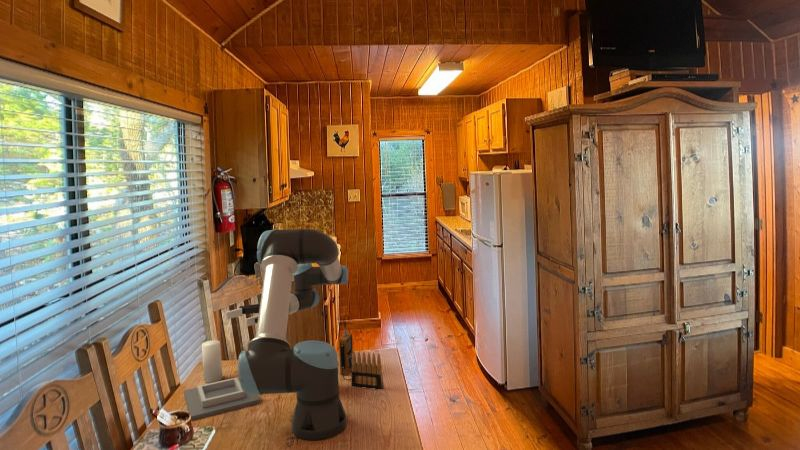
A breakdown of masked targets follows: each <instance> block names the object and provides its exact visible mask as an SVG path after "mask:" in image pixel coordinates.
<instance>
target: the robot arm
mask: <svg viewBox="0 0 800 450" xmlns="http://www.w3.org/2000/svg"><path fill="white" fill-rule="evenodd" d="M256 249H257V251H256V258H257V262H258V264H259V265H260V266H261V269H262V270H263V271H264V277H263V283H262V291H261V296H260V297H261V298H260V303H255V304H249V305H247V304H246V305H240V306H238V308H235V309H232V310H228V311H225V312H224V314H225V316H224V317H225V320H230V319H234V318H237V317H243V315H252V314H256V315H253V316H250V317H248V318H246V317H245V319H244V321H245V328H248V327H250V326H255V325H256V329H255V330H256V331H255V337H254V338H253V339H251V340H250V341H249V342H248V346H247V350H246V349H245V350H243V351H240V353H239V355H238V360H237V371H238V372H237V374H238V378H239V381H240V385H241V388H242V390H243V391H244V392H245V393H246V394H257V395H258V396H263V395H275V394H294V393H295V394H296V403H295V407H294V411H293V413H292V414H293V415H292V418H291V431H292V433H293V435H294V436H295V437H297V438H299V439H302V440H307V441H319V440H320V441H322V440H326V439H329V438H332V437H334V436H337V435H338V434H340V433H341V432H343V431H344V430H345V429H346V427H347V424H348V423H347V414H346V411H345V409H344V406H343V403H342V400H341V398H340V386H339V385H340V384H339V369H338V368H339V361H338V352H337V350H336V347H334V346H333V345H332V344H330V343H329V342H326V341H322V340H315V339H314V340H313V339H311V340H309V339H308V340H305V341H300V342H297V343H296V344H294V347H293V348H291V343H290V342H289V341H288V340H287V330H288V320H289V315H293V314H294V313H297V312H301V311H304V310H309V309H311V308H314V307H316V306H318V304H319V303H320V295H319V292H318V290H317V289H315V288H314V286H321V285H322V286H323V285H325V286H327V285H331V286H332V285H338V286H339V285H346V284H348V282H349V281H348V280H349V269H348V266H347V265H341V262H340V260H339V253H340V252H339V247H338V245H337V242H336V241H335V240H334V239H333V238H332V237H331V236H329V235H328V234H326V233H324V232H323V231H321V230H317V229H315V228H293V229H291V228H289V229H279V228H275V229H271V230H270V229H269V230H265V231H263V232H262V233H261V235H260V237H259V239H258V242H257V248H256ZM312 264H317V265H318V266H313V265H312ZM292 283H293V284H292ZM292 285H293V289H294V291H293V293H291V292H292ZM257 314H258V315H257Z"/></svg>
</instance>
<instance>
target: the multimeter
mask: <svg viewBox="0 0 800 450" xmlns="http://www.w3.org/2000/svg"><path fill="white" fill-rule="evenodd" d="M345 317H347V318H348V320H350V317H349V315H348V314H345V315H344V316H343V319H340V320H339V324H338V326H339V327H338V333H339V334H338V335H339V337H338V338H339V339H338V350H339V351H338V353H339V356H338V357H339V369H340V370H339V371H340V372H339V373H340V375H342V378H343V379H344V380H345V381H350V380H351V381H352V378H349V379H348V378H345V375H346V376H349V374H350V373H351V372H352V354H353V351H354V344H353V333H352V332H351V331H350V329H348V331H347V324H346V323H347V322H346V321H347V320H346V319H345ZM341 321H343V322H342V323H343V325H344V329H343V334H342V336H341V330H340V329H341V328H340V327H341Z"/></svg>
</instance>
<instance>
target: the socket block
mask: <svg viewBox="0 0 800 450" xmlns="http://www.w3.org/2000/svg"><path fill="white" fill-rule="evenodd" d="M183 395H184V396H183V397H184V399H185V403H186V407H187V411H188V414H189V413H190V415H191V421H194V420H199V419H202V418H203V419H204V418H206V417H210V416H215V415H218V414H222V413H226V412H229V411H233V410H237V409H241V408H245V407H248V406H249V407H250V406H253V405H257V404H261V397H259V396H260V395H258V394H246V393H245V392H244V391H243V390H242V388H241V385H240V381H239V377H232V378H228V379H224V380H222V379H221V380H220V381H218V382H213V383H206V384H205V383H204V384H201V385H197V386H196V387H194V388H188V389H185V390H183Z"/></svg>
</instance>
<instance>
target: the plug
mask: <svg viewBox="0 0 800 450" xmlns="http://www.w3.org/2000/svg"><path fill="white" fill-rule="evenodd" d="M201 355H202V357H201V358H202V370H203V381H205V382H204V383H206V382H207V383H206V384H209V383H212V382H217V381H219V380H220V381H222V379H223V366H222V363H223V362H222V350H221V341H220V340H214V339H211V340H207V341H204V342H203V343H201Z"/></svg>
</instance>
